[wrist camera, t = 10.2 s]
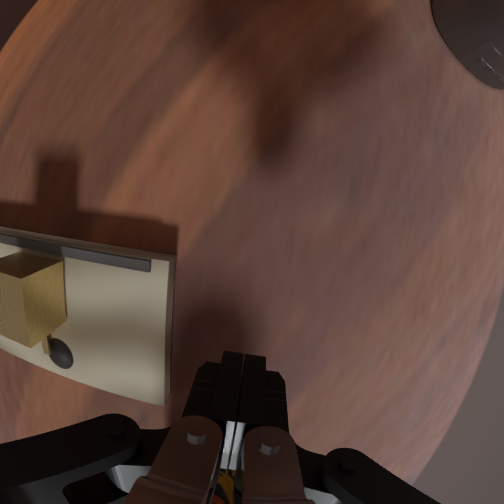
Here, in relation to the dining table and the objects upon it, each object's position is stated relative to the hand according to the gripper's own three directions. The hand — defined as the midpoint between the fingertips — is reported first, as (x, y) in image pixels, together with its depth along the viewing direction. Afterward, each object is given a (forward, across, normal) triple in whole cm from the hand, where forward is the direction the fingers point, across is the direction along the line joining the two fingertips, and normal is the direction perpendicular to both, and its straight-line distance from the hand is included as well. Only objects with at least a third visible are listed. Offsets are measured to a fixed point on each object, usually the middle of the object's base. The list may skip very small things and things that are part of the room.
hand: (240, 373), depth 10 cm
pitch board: (+7, +16, +3) cm, 17 cm away
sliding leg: (+5, +13, +3) cm, 15 cm away
